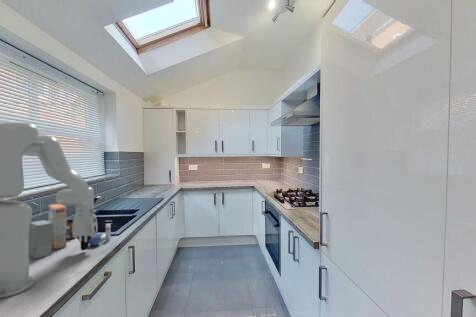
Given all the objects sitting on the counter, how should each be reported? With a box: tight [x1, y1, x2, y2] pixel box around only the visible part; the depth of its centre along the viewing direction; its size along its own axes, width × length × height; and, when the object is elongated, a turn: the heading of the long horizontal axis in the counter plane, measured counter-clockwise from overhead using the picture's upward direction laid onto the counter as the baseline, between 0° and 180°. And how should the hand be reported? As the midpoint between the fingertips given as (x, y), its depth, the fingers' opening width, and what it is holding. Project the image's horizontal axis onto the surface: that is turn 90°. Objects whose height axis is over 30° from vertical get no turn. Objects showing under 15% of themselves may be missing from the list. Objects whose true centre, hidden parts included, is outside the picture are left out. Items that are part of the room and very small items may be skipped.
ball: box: [89, 233, 102, 247], centre depth 127 cm, size 6×6×6 cm
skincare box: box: [29, 219, 53, 260], centre depth 114 cm, size 8×7×16 cm
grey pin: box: [105, 223, 112, 242], centre depth 134 cm, size 2×2×9 cm
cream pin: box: [100, 232, 106, 242], centre depth 136 cm, size 2×2×9 cm
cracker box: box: [48, 203, 68, 250], centre depth 127 cm, size 14×6×21 cm, turn 46°
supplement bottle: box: [66, 217, 76, 241], centre depth 137 cm, size 6×6×11 cm
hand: (84, 249), depth 118 cm, fingers closed
